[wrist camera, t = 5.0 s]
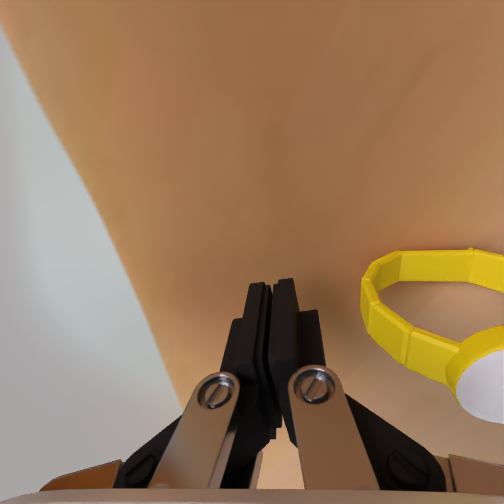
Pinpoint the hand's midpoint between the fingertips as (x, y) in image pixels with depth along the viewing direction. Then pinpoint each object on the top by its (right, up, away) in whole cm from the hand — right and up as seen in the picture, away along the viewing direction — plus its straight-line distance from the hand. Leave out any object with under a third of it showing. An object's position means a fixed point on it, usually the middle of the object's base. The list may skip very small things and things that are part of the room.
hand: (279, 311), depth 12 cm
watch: (+6, +2, +1) cm, 6 cm away
